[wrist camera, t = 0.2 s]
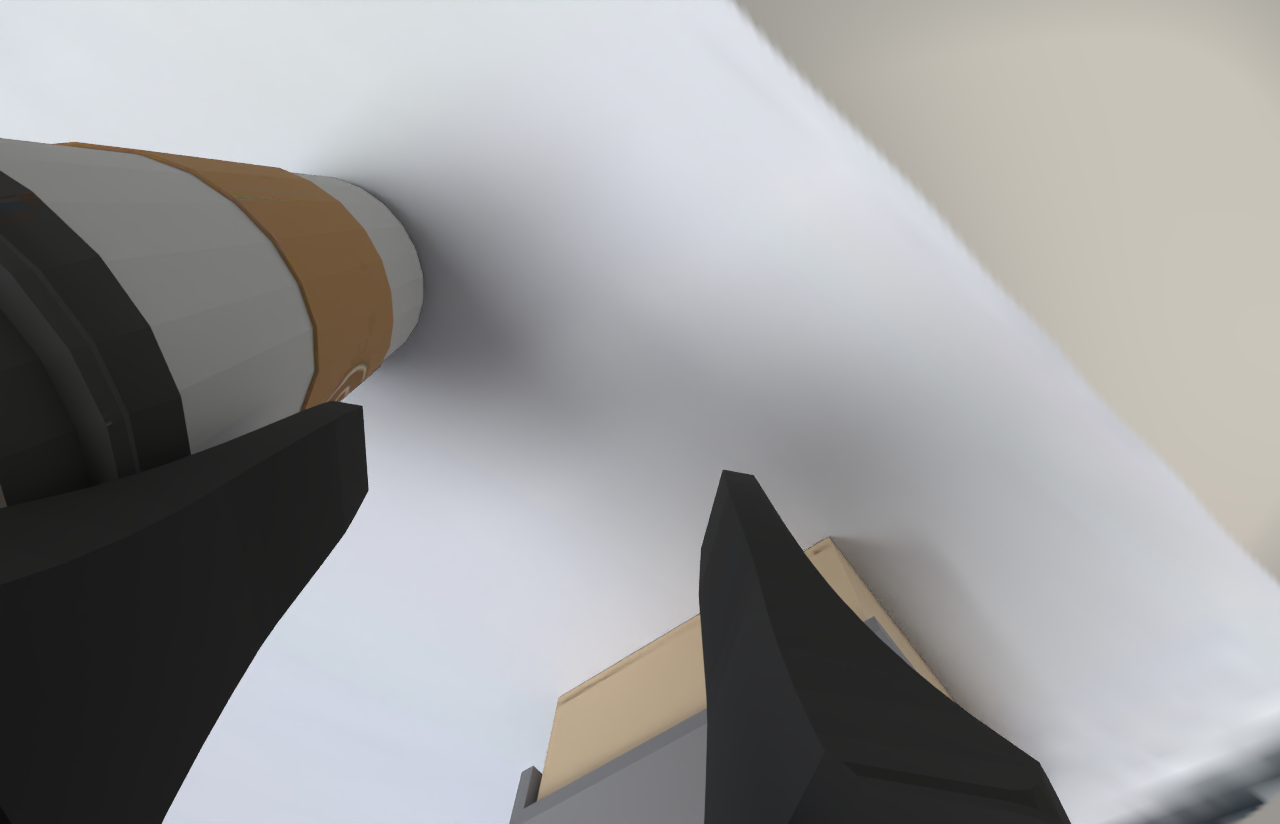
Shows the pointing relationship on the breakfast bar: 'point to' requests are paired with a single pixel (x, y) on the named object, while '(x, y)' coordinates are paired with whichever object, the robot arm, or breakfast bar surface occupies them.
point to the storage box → (673, 685)
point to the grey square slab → (638, 780)
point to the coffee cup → (179, 306)
